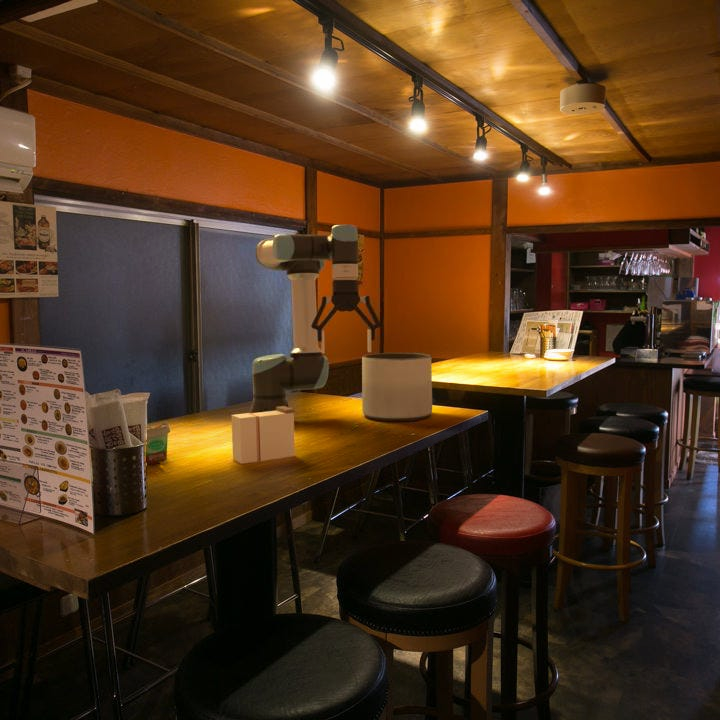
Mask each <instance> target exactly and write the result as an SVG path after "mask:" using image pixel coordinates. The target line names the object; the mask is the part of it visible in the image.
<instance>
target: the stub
mask: <svg viewBox="0 0 720 720" xmlns="http://www.w3.org/2000/svg"><path fill="white" fill-rule="evenodd" d="M231 434H232V435H231V436H232V437H231V441H232V442H231V443H232V460H234V461H235V462H237V463H239V464H241V465H243V464H249V463H256V462H260V461H259V434H258V416H256V415H253V414H251V413H250V412H246V413H238V414H231Z"/></svg>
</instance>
